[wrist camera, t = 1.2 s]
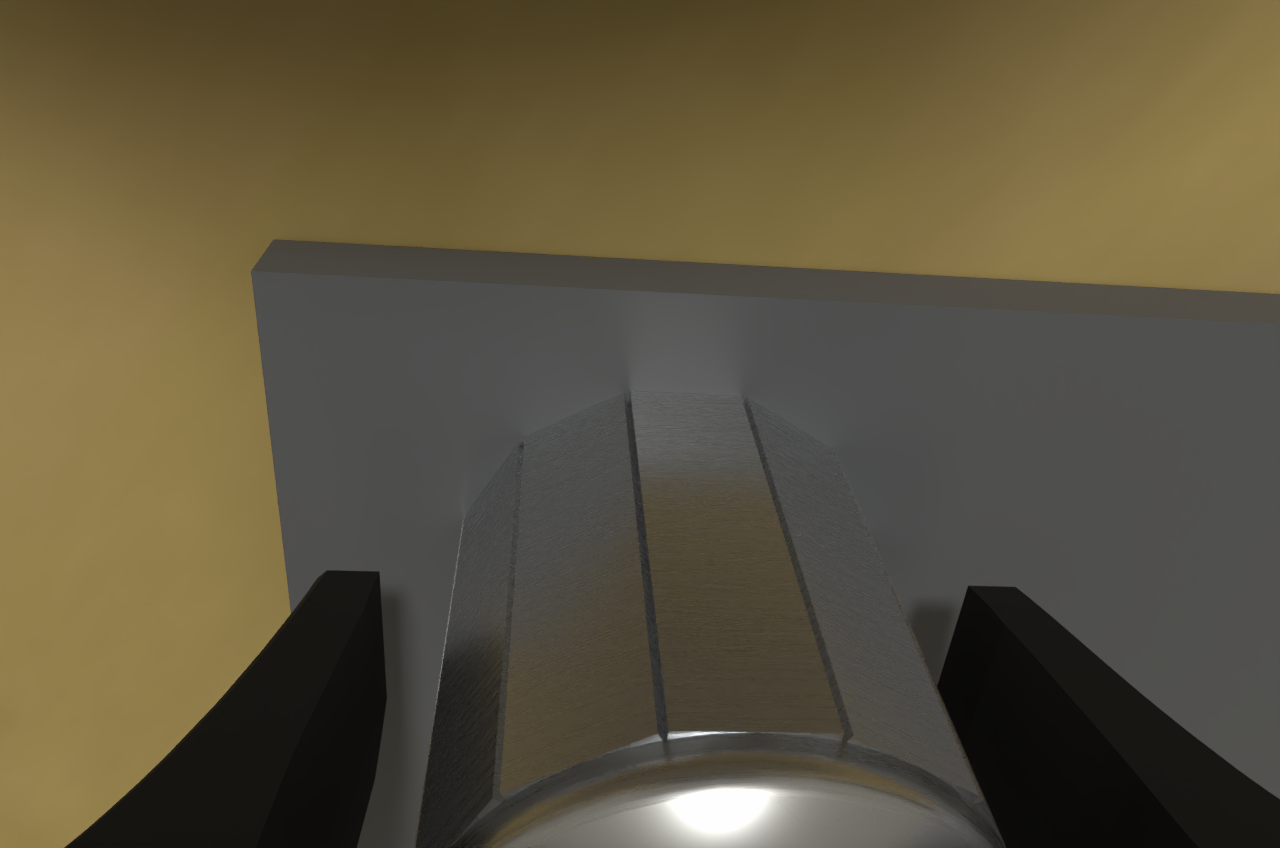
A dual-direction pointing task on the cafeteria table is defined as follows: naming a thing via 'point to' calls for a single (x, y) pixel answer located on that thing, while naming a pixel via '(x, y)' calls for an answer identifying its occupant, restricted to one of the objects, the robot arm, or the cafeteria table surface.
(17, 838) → the cafeteria table surface
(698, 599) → the cylinder
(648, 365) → the base board
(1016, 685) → the robot arm
